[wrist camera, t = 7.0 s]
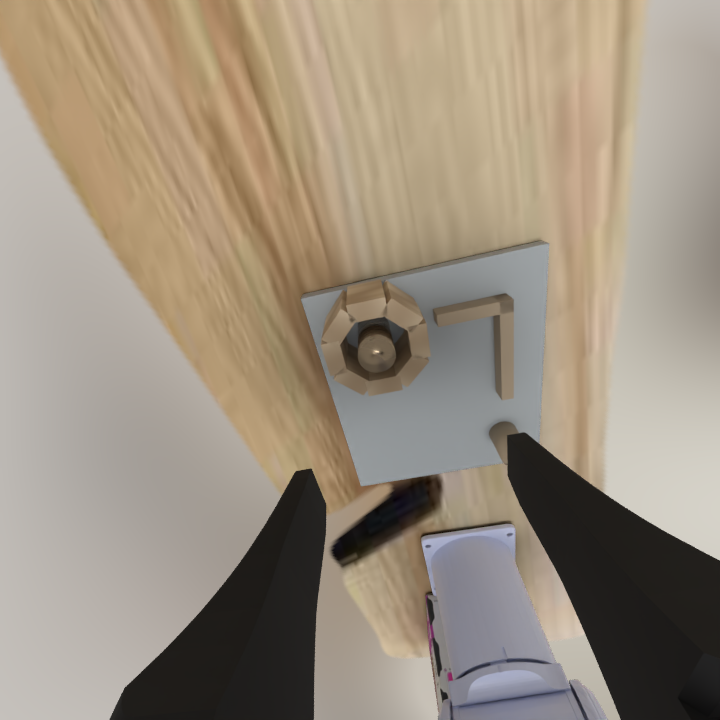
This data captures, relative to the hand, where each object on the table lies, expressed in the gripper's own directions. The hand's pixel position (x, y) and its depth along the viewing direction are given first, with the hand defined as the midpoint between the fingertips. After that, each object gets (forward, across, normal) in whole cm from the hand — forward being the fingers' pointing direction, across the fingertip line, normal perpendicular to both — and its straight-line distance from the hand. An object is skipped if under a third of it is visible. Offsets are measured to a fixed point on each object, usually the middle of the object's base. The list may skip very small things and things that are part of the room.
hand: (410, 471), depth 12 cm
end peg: (+8, 0, -2) cm, 9 cm away
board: (+9, -2, +3) cm, 10 cm away
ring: (+8, 0, -2) cm, 9 cm away
